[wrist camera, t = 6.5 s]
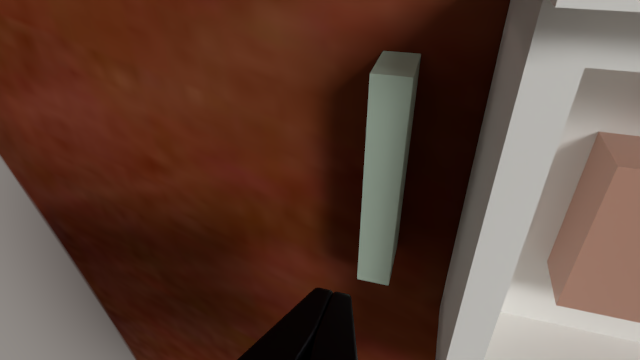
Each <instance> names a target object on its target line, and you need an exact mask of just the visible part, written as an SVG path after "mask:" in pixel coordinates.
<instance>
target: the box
mask: <svg viewBox="0 0 640 360" xmlns="http://www.w3.org/2000/svg"><path fill="white" fill-rule="evenodd" d="M435 360H640V0H510V4H509V9H508V13H507V17H506V22H505V26H504V30H503V35H502V39H501V43H500V48H499V52H498V57H497V61H496V65H495V70H494V74H493V78H492V83H491V87H490V91H489V96H488V100H487V104H486V109H485V113H484V117H483V122H482V126H481V130H480V135H479V139H478V144H477V148H476V152H475V157H474V161H473V165H472V170H471V174H470V178H469V183H468V187H467V191H466V196H465V200H464V204H463V209H462V213H461V217H460V222H459V226H458V231H457V235H456V239H455V244H454V248H453V252H452V257H451V261H450V265H449V270H448V274H447V278H446V283H445V287H444V291H443V296H442V300H441V304H440V311H439V323H438V335H437V347H436V359H435Z"/></svg>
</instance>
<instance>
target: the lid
mask: <svg viewBox="0 0 640 360" xmlns="http://www.w3.org/2000/svg"><path fill="white" fill-rule="evenodd" d="M420 60H421V54H418V53H405V52H393V51H383V52H382V54H381V55H380V57H379V59H378V60H377V62H376V64H375V65H374V67H373V69H372V70H371V72H370V77H369V94H368V110H367V126H366V142H365V159H364V175H363V191H362V207H361V223H360V240H359V256H358V272H357V279H360V280H364V281H369V282H374V283H378V284H383V285H388V286H389V282H390V277H391V272H392V268H393V263H394V258H395V254H396V249H397V243H398V235H399V227H400V219H401V211H402V203H403V195H404V187H405V179H406V171H407V163H408V155H409V147H410V139H411V131H412V124H413V116H414V108H415V100H416V92H417V84H418V76H419V68H420Z"/></svg>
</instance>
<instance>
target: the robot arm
mask: <svg viewBox="0 0 640 360" xmlns="http://www.w3.org/2000/svg"><path fill="white" fill-rule="evenodd" d="M238 360H358V358H357V348H356V339H355V329H354V319H353V310H352V300H351V296H350V295H349V294H345V293H340V292H334V293H333V292H332V291H331V290H327V289H323V288H315V289H314V290H313V291H312V292H310V293H309V294H308V295H307V296H306V297H305V298H304V299H303V300H302V301H301V302H300V303H298V304H297V305H296V306H295V307H294V308H293V309H292V310H291V311H290V312H289V313H288V314H286V315H285V316H284V317H283V318H282V319H281V320H280V321H279V322H278V323H277V324H276V325H275V326H273V327H272V328H271V329H270V330H269V331H268V332H267V333H266V334H265V335H264V336H263V337H261V338H260V339H259V340H258V341H257V342H256V343H255V344H254V345H253V346H252V347H251V348H249V349H248V350H247V351H246V352H245V353H244V354H243V355H242V356H241V357H240V358H239V359H238Z"/></svg>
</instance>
